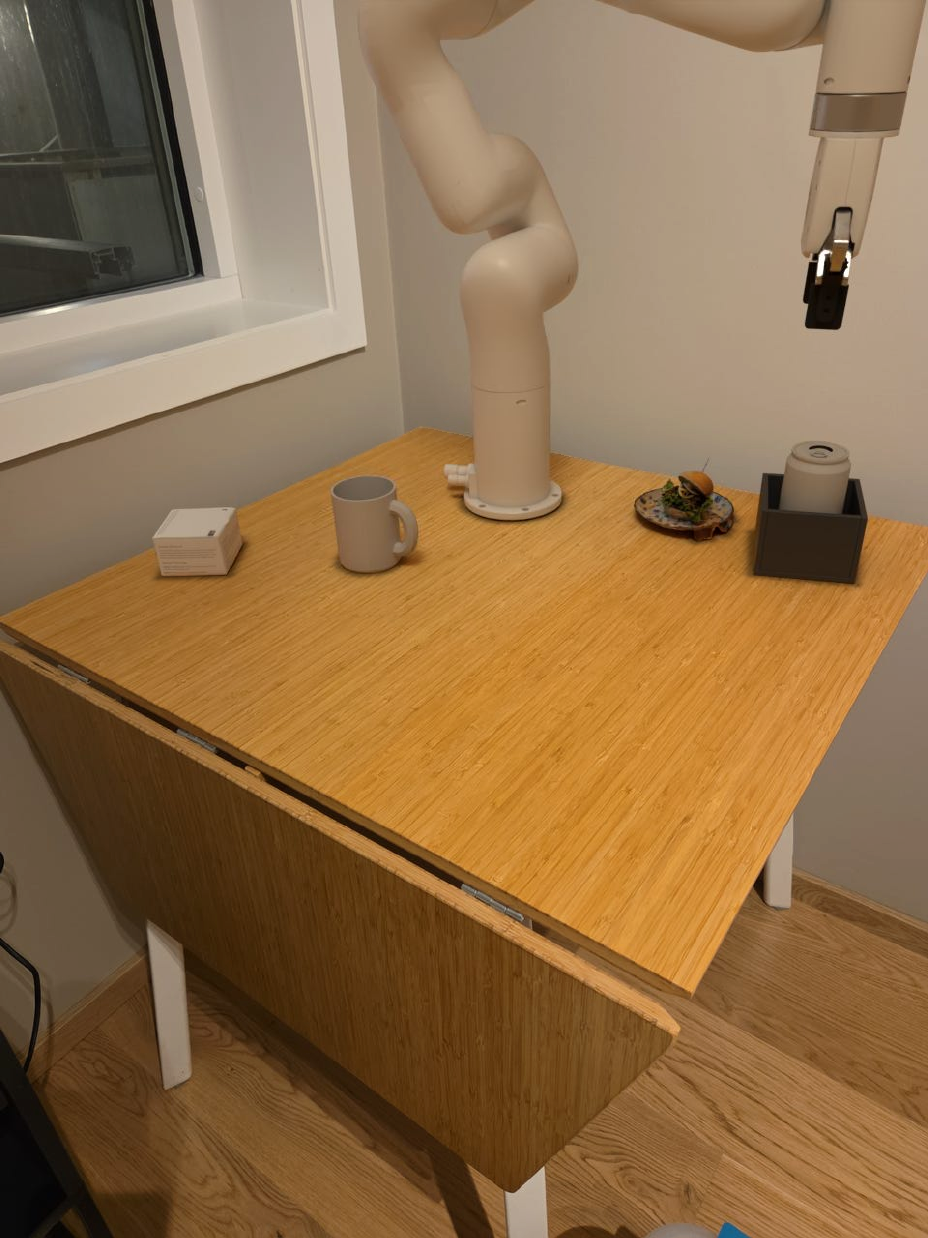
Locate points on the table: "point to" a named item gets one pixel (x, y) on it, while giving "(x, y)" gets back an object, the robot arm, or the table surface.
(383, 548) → the cup
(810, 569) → the bin
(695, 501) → the burger on plate
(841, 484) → the beverage can
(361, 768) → the table surface
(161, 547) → the small box
